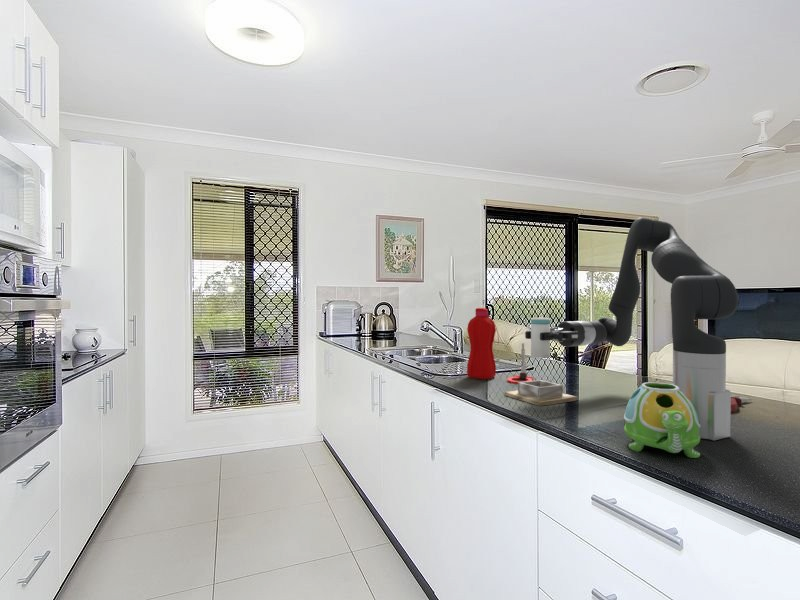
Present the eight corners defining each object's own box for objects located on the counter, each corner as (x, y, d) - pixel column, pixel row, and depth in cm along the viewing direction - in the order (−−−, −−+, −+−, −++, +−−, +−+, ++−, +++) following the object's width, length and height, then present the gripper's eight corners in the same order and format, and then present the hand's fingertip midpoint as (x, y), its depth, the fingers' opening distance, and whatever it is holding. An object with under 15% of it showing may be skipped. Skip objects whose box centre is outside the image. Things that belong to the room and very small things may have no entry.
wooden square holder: (577, 400, 120) (577, 386, 120) (539, 405, 113) (540, 390, 113) (539, 390, 132) (539, 377, 132) (504, 395, 126) (504, 381, 126)
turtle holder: (634, 465, 73) (635, 395, 73) (619, 433, 90) (619, 377, 90) (721, 475, 69) (721, 401, 69) (687, 440, 86) (688, 381, 86)
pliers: (770, 407, 115) (770, 397, 115) (726, 415, 106) (726, 405, 106) (722, 398, 125) (722, 389, 125) (679, 405, 117) (679, 396, 117)
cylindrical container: (554, 357, 122) (554, 318, 122) (540, 358, 119) (540, 318, 119) (540, 354, 126) (540, 317, 126) (526, 355, 124) (526, 317, 124)
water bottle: (493, 381, 147) (493, 308, 147) (464, 378, 153) (464, 307, 153) (502, 377, 154) (503, 308, 154) (474, 374, 160) (474, 307, 160)
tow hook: (528, 386, 141) (536, 380, 149) (527, 347, 140) (535, 343, 148) (503, 384, 145) (512, 378, 153) (503, 346, 145) (511, 342, 153)
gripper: (557, 320, 136) (515, 321, 128) (596, 322, 123) (552, 323, 115) (557, 343, 136) (515, 346, 128) (596, 348, 123) (552, 351, 115)
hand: (533, 335), depth 122 cm, fingers closed on cylindrical container, 5 cm apart
